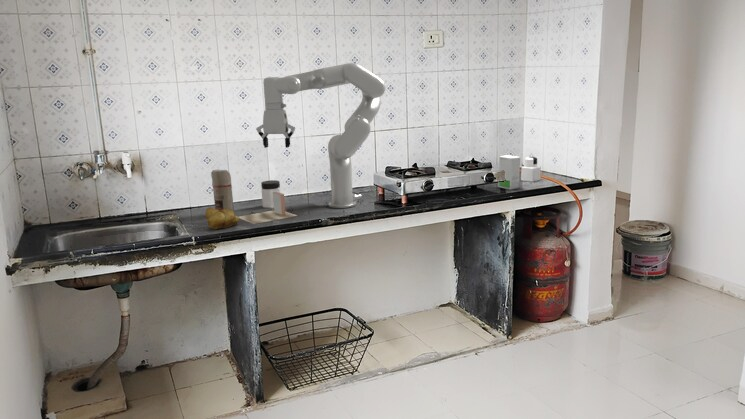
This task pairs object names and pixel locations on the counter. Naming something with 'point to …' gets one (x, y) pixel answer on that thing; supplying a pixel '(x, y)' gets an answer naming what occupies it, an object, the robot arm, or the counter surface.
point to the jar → (269, 192)
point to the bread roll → (221, 218)
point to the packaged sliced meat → (265, 217)
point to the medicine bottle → (530, 170)
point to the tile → (279, 203)
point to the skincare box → (510, 171)
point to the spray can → (222, 189)
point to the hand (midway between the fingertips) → (276, 147)
